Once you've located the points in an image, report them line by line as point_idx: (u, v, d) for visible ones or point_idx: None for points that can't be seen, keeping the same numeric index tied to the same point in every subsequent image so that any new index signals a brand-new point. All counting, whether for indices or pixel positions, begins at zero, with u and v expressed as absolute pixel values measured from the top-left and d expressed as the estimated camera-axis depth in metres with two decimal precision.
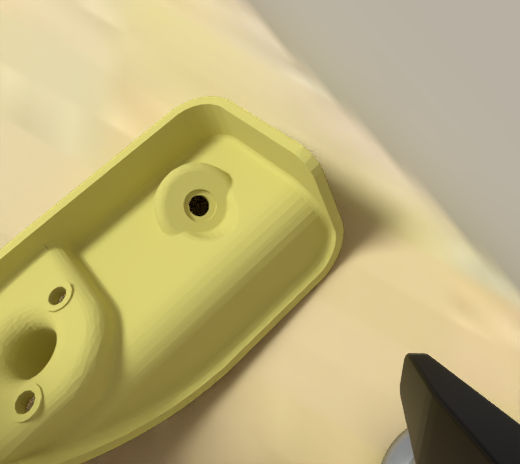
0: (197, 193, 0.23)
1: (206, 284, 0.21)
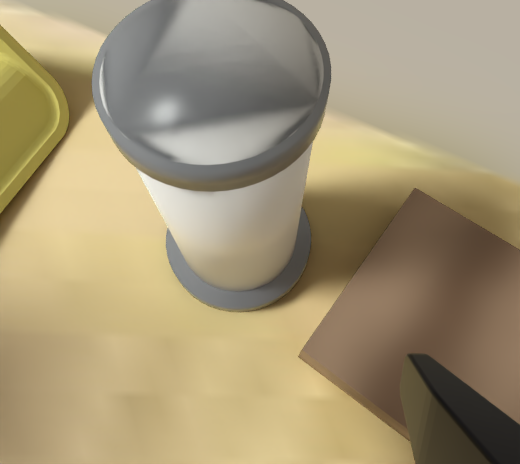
0: None
1: None
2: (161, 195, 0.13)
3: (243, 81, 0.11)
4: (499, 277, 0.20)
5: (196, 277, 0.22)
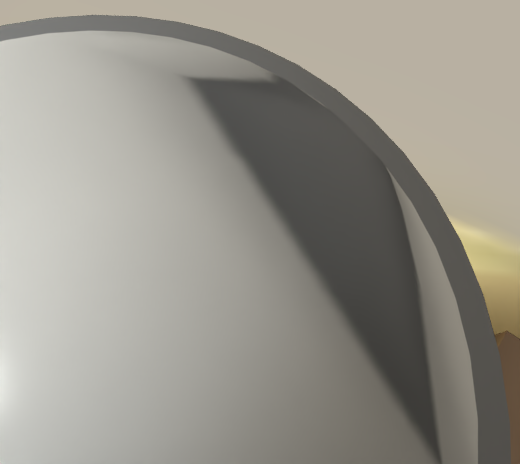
0: None
1: None
2: None
3: (146, 433, 0.03)
4: None
5: None
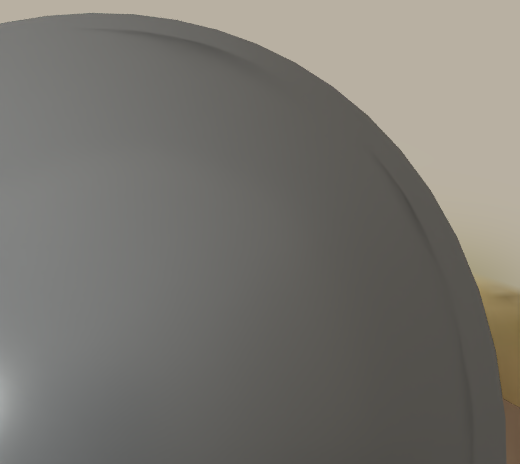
0: None
1: None
2: None
3: (143, 428, 0.03)
4: None
5: None
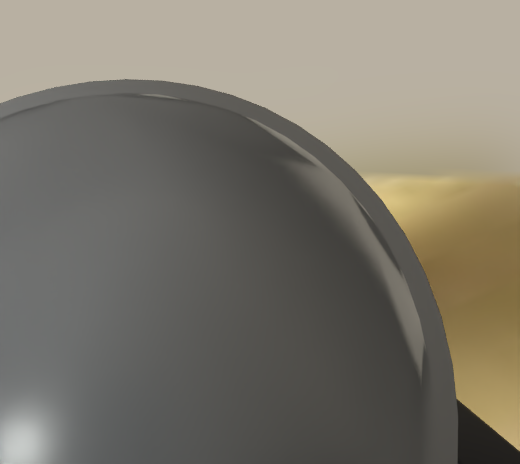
0: None
1: None
2: None
3: (179, 423, 0.04)
4: None
5: None
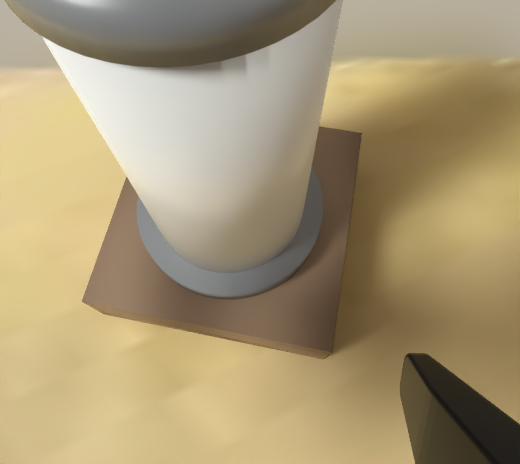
0: None
1: None
2: (94, 100, 0.08)
3: None
4: None
5: (174, 254, 0.17)
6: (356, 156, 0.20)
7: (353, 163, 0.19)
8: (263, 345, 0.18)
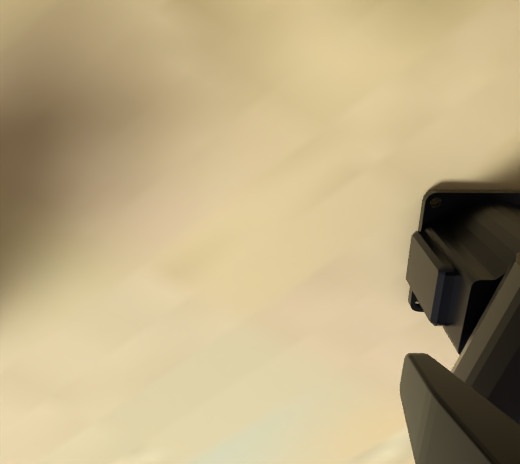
0: None
1: None
2: None
3: None
4: None
5: None
6: None
7: None
8: None
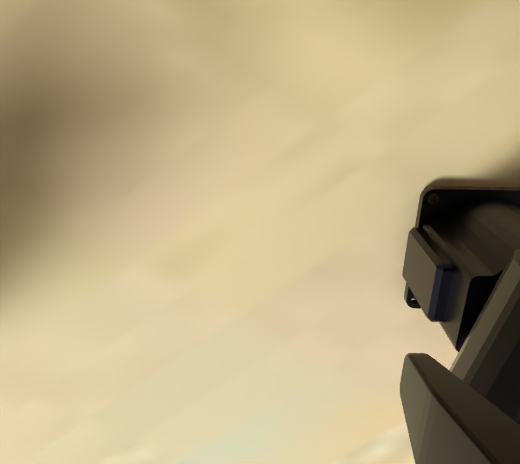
0: None
1: None
2: None
3: None
4: None
5: None
6: None
7: None
8: None
